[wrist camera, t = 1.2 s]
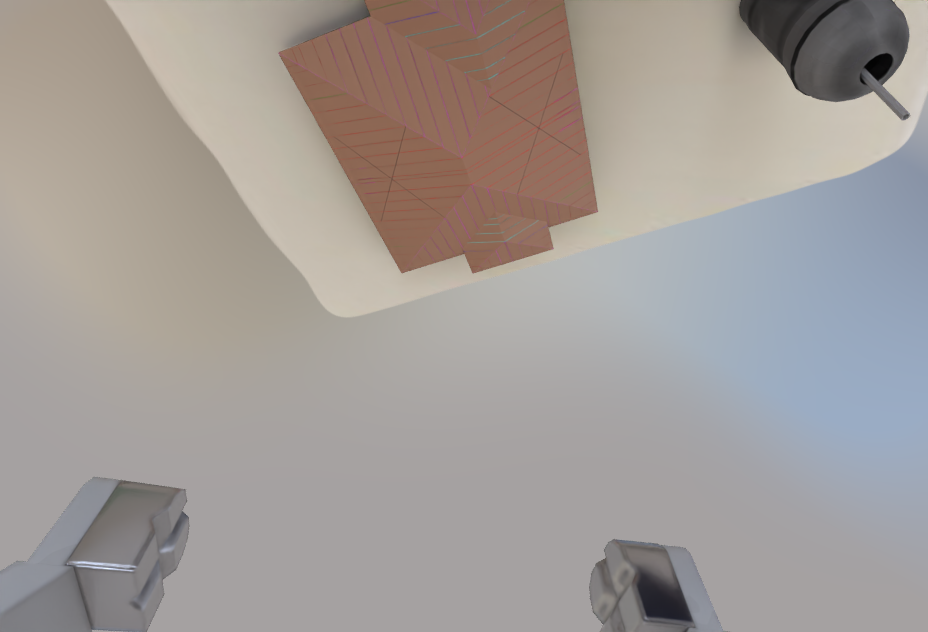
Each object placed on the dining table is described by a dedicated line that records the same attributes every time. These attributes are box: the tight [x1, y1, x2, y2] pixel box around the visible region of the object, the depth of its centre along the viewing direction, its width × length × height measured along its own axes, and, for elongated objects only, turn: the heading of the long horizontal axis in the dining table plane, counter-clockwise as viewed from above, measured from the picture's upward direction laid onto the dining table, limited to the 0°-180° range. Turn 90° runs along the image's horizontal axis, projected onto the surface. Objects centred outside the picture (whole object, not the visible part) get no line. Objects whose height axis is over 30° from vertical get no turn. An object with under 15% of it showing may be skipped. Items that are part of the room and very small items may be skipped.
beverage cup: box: [739, 0, 910, 120], centre depth 40 cm, size 7×7×20 cm
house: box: [278, 0, 598, 273], centre depth 49 cm, size 23×33×8 cm
